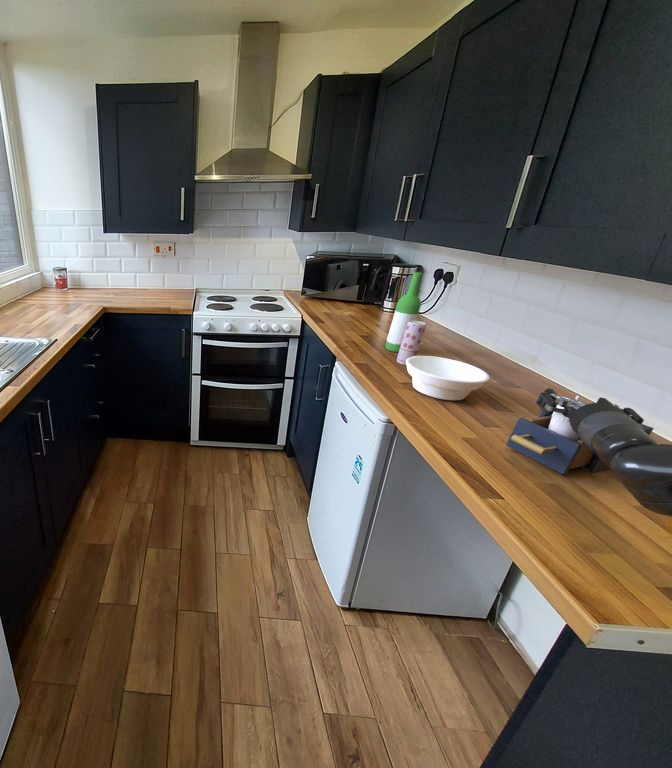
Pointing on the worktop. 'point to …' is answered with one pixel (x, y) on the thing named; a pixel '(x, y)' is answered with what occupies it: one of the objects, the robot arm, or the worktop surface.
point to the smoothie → (562, 425)
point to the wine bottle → (404, 314)
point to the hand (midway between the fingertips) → (572, 397)
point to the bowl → (444, 377)
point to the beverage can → (411, 341)
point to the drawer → (549, 445)
